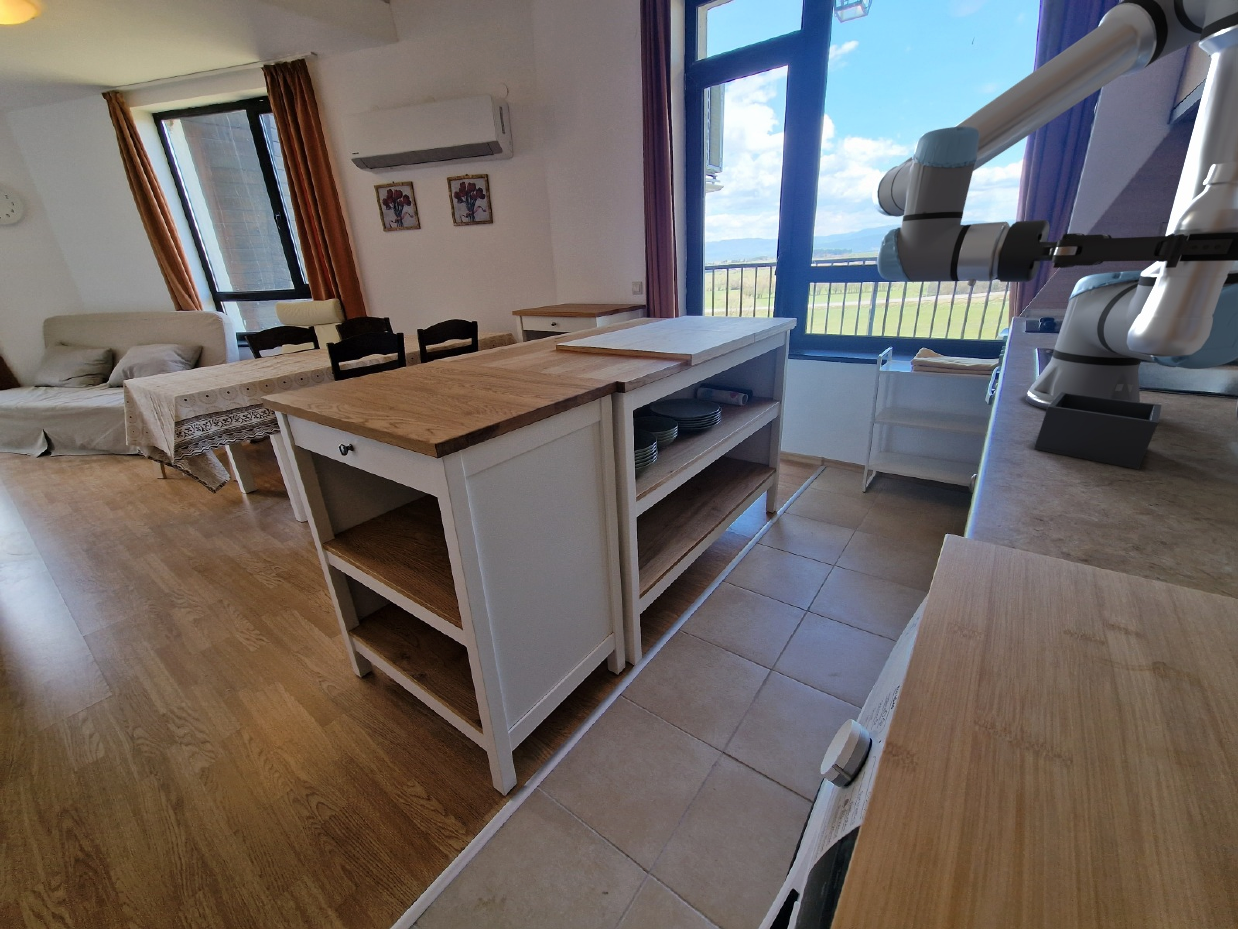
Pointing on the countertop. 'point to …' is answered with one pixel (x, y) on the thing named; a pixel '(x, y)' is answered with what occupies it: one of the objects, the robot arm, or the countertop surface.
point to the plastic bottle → (1190, 275)
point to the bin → (1098, 429)
